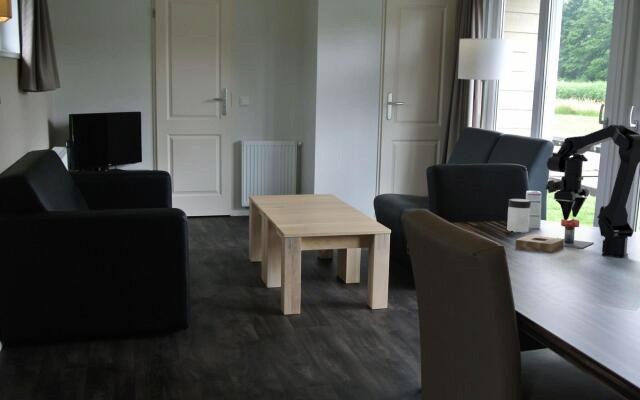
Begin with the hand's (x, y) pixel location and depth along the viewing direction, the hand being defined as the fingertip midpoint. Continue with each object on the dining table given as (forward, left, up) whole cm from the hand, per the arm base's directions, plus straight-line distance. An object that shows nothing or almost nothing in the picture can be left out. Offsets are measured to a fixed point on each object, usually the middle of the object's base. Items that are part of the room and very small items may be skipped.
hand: (570, 218), depth 241 cm
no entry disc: (0, 0, -9) cm, 9 cm away
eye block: (+5, +15, -9) cm, 18 cm away
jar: (+24, -14, -9) cm, 29 cm away
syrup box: (+23, -26, -9) cm, 36 cm away
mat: (0, 0, -9) cm, 9 cm away
